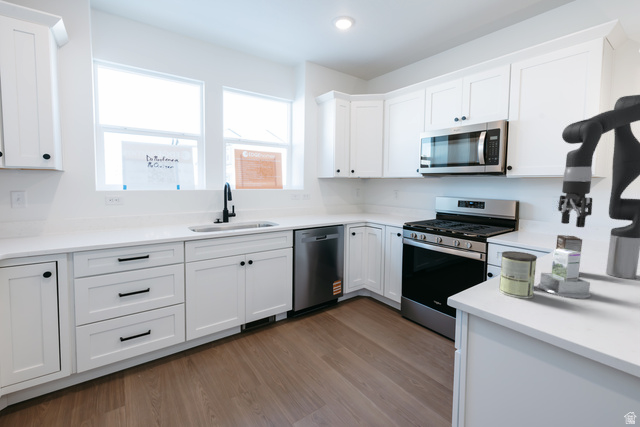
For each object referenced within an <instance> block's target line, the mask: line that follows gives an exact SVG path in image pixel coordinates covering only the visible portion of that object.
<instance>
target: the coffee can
mask: <svg viewBox="0 0 640 427" xmlns="http://www.w3.org/2000/svg"><path fill="white" fill-rule="evenodd" d="M537 259H538V256H537V255H536V254H533V253H532V254H531V253H529V252H522V251H516V250H515V251H514V250H512V251H511V250H510V251H509V250H508V251H502V252H501V263H500V264H501V265H500V266H501V268H500V279H499V292H500V293H501V294H503V295H505V296H508V297H511V298H517V299H532V298H534V288H535V276H536V269H537V268H536V266H537Z"/></svg>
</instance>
